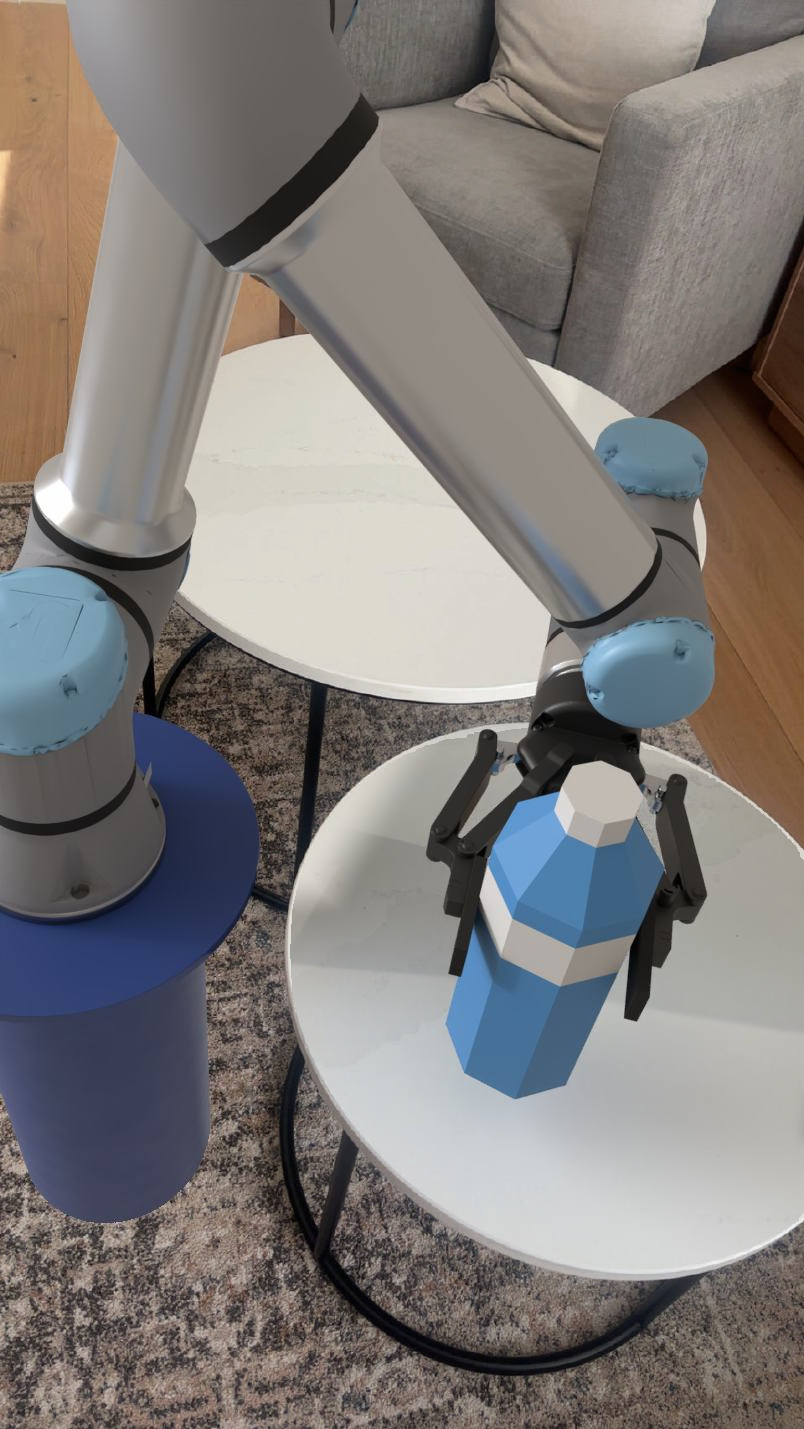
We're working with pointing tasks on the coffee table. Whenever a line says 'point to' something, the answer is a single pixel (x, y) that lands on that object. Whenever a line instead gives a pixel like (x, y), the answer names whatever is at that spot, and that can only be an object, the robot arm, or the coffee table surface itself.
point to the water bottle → (552, 930)
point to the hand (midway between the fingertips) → (546, 985)
